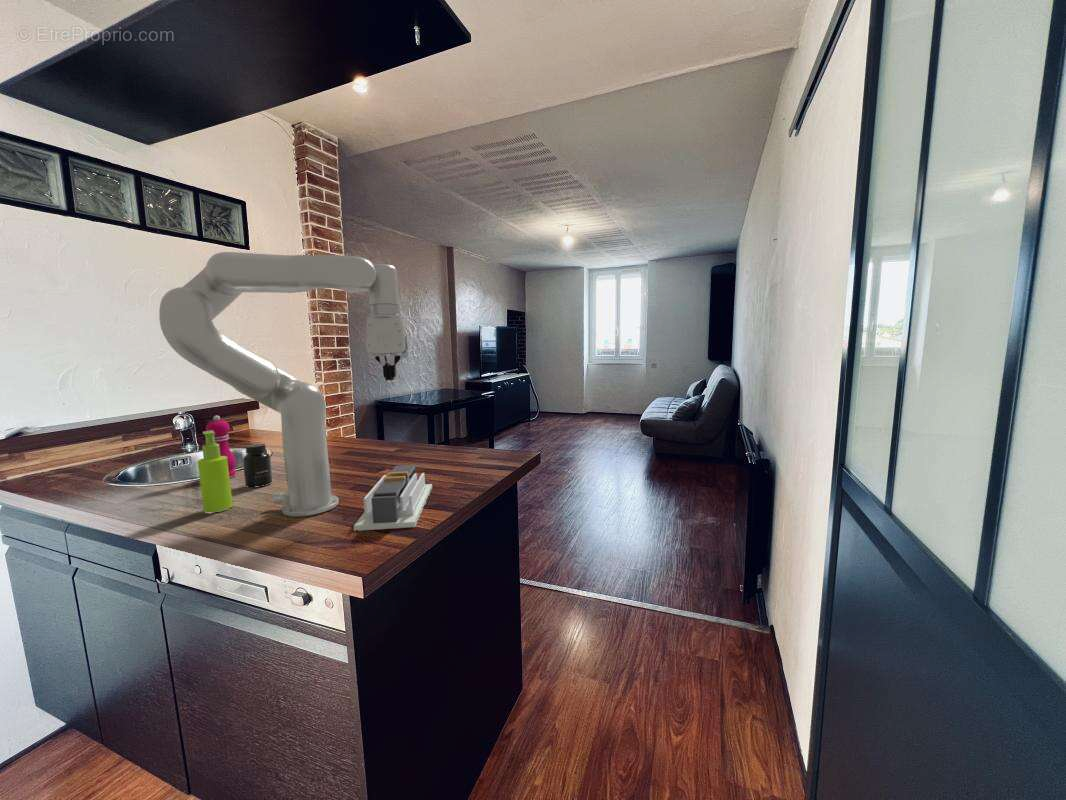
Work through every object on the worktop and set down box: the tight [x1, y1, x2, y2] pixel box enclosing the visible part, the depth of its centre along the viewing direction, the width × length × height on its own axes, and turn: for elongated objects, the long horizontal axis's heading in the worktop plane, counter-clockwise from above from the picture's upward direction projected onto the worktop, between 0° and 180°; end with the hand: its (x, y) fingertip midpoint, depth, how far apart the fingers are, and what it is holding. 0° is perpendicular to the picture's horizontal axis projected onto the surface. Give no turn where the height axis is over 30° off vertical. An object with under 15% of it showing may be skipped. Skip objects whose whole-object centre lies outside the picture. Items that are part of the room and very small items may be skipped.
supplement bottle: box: [242, 443, 273, 488], centre depth 126 cm, size 7×7×12 cm
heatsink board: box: [353, 465, 433, 532], centre depth 105 cm, size 13×26×7 cm, turn 5°
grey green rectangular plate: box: [386, 464, 416, 479], centre depth 111 cm, size 5×10×2 cm, turn 5°
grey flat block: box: [373, 476, 406, 497], centre depth 99 cm, size 5×10×2 cm, turn 5°
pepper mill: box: [205, 415, 237, 477], centre depth 134 cm, size 7×7×20 cm
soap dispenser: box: [197, 430, 234, 512], centre depth 106 cm, size 6×7×20 cm
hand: (390, 379), depth 117 cm, fingers closed
